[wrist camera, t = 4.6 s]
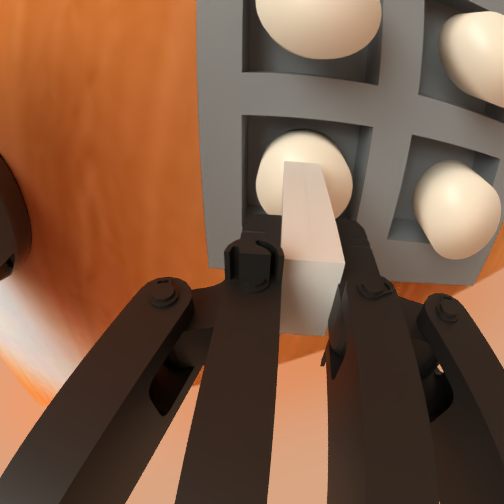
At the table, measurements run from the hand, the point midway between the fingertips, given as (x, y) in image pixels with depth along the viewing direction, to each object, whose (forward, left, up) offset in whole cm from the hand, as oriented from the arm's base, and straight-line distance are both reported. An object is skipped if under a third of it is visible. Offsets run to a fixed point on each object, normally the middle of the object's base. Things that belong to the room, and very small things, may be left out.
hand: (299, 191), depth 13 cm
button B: (0, +8, -2) cm, 8 cm away
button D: (+8, +8, -2) cm, 12 cm away
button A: (0, 0, -3) cm, 3 cm away
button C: (+8, 0, -2) cm, 8 cm away
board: (+9, +4, -5) cm, 11 cm away
